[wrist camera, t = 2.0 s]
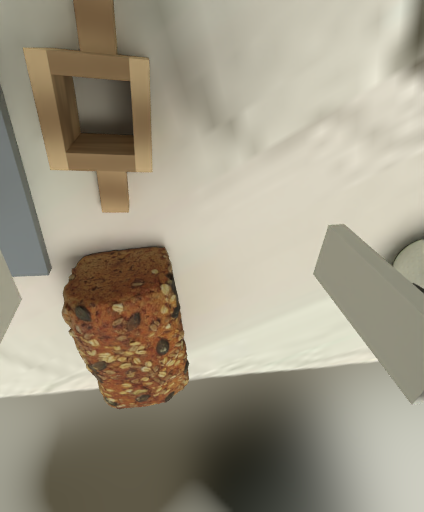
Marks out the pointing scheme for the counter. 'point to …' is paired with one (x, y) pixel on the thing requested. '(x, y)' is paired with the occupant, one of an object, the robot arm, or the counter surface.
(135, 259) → the bread
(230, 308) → the counter surface
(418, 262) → the mug
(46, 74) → the wooden frame with handle
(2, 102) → the post base
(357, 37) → the counter surface
